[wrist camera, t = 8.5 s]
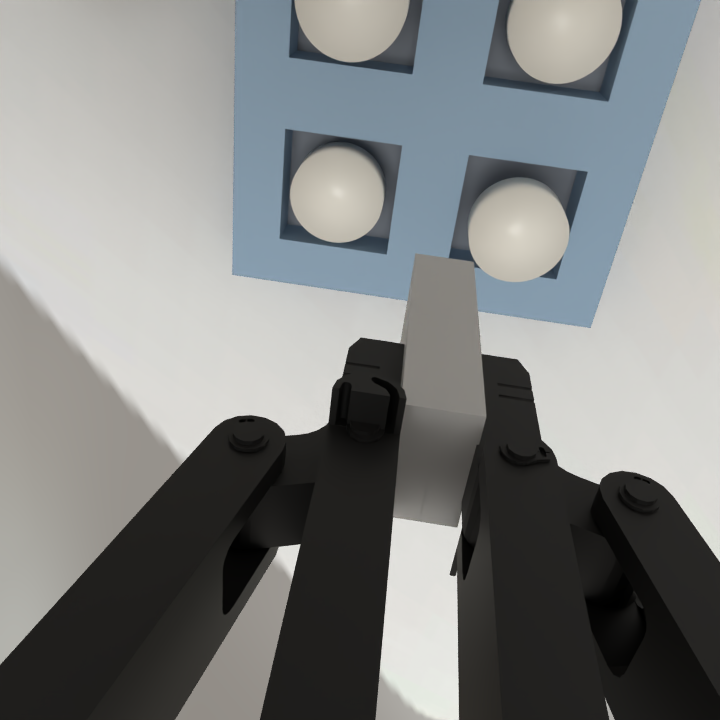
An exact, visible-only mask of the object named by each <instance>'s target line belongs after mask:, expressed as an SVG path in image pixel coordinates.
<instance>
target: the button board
mask: <svg viewBox="0 0 720 720" xmlns="http://www.w3.org/2000/svg"><path fill="white" fill-rule="evenodd" d="M700 1H701V0H621V5H622V24H621V29H620V33H619V36H618V39H617V42H616V44H615V46H614V48H613V49H612V51H611V53H610V54H609V56H608V57H607V58H606V59H605V61H604V62H603V63H602V64H601V65H600V66H599V67H598V68H597V69H595V70H594V71H593V72H592V73H590V74H588V75H587V76H585V77H583V78H581V79H579V80H576V81H573V82H569V83H563V84H552V83H546V82H542V81H540V80H537V79H535V78H533V77H531V76H530V75H529V74H527V73H526V72H525V71H524V70H523V69H522V68H521V67H520V65H519V64H518V63H517V61H516V59H515V57H514V56H513V54H512V52H511V50H510V47H509V45H508V41H507V37H506V16H507V11H508V7H509V4H510V2H511V0H410V5H409V10H408V14H407V17H406V20H405V22H404V25H403V27H402V29H401V31H400V33H399V35H398V36H397V38H396V39H395V41H394V42H393V43H392V44H391V45H390V46H389V47H388V48H387V49H386V50H385V51H384V52H382V53H381V54H379V55H377V56H376V57H374V58H371V59H369V60H366V61H361V62H343V61H339V60H336V59H333V58H331V57H329V56H327V55H325V54H323V53H322V52H321V51H319V50H318V49H317V48H316V47H315V46H314V45H313V44H312V43H311V42H310V41H309V40H308V38H307V37H306V35H305V34H304V32H303V30H302V28H301V26H300V23H299V21H298V18H297V14H296V9H295V0H236V9H235V96H234V182H233V269H232V275H237V276H244V277H251V278H258V279H264V280H271V281H278V282H285V283H291V284H298V285H305V286H311V287H318V288H325V289H332V290H338V291H345V292H352V293H359V294H365V295H372V296H379V297H386V298H392V299H399V300H406V301H408V295H409V289H410V283H411V277H412V271H413V265H414V259H415V253H417V254H424V255H430V256H437V257H444V258H451V259H458V260H464V261H471V262H474V270H475V282H476V294H477V306H478V311H480V312H487V313H493V314H500V315H507V316H514V317H520V318H527V319H534V320H540V321H547V322H554V323H561V324H567V325H574V326H581V327H588V328H591V325H592V322H593V319H594V316H595V313H596V310H597V307H598V304H599V301H600V298H601V295H602V292H603V289H604V286H605V283H606V280H607V277H608V274H609V271H610V268H611V265H612V262H613V259H614V256H615V253H616V250H617V248H618V245H619V242H620V239H621V236H622V233H623V230H624V227H625V224H626V221H627V218H628V215H629V212H630V209H631V206H632V203H633V200H634V197H635V194H636V191H637V188H638V185H639V182H640V179H641V176H642V173H643V170H644V167H645V165H646V162H647V159H648V156H649V153H650V150H651V147H652V144H653V141H654V138H655V135H656V132H657V129H658V126H659V123H660V120H661V117H662V114H663V111H664V108H665V105H666V102H667V99H668V96H669V93H670V90H671V87H672V84H673V81H674V79H675V76H676V73H677V70H678V67H679V64H680V61H681V58H682V55H683V52H684V49H685V46H686V43H687V40H688V37H689V34H690V31H691V28H692V25H693V22H694V19H695V16H696V13H697V10H698V7H699V4H700ZM331 142H347V143H351V144H354V145H357V146H359V147H361V148H363V149H364V150H366V151H367V152H369V153H370V154H371V155H372V156H373V157H374V158H375V160H376V161H377V162H378V164H379V165H380V167H381V169H382V171H383V174H384V178H385V185H386V191H385V198H384V202H383V207H382V211H381V214H380V217H379V219H378V221H377V222H376V224H375V225H374V227H373V228H372V229H371V230H370V231H369V232H368V233H366V234H365V235H364V236H362V237H360V238H358V239H356V240H353V241H350V242H344V243H335V242H329V241H325V240H322V239H319V238H317V237H315V236H314V235H312V234H311V233H309V232H308V231H307V230H306V229H305V228H304V227H303V226H302V225H301V224H300V223H299V221H298V220H297V218H296V216H295V214H294V212H293V209H292V206H291V200H290V189H291V184H292V180H293V178H294V176H295V174H296V172H297V170H298V169H299V167H300V165H301V164H302V162H303V161H304V159H305V158H306V157H307V155H308V154H309V153H311V152H312V151H313V150H314V149H316V148H317V147H319V146H321V145H324V144H327V143H331ZM514 177H524V178H530V179H534V180H537V181H540V182H542V183H543V184H545V185H547V186H548V187H549V188H550V189H551V190H552V191H553V192H554V193H555V194H556V195H557V197H558V198H559V200H560V202H561V205H562V207H563V209H564V212H565V214H566V217H567V220H568V224H569V241H568V245H567V248H566V250H565V252H564V254H563V256H562V258H561V259H560V260H559V262H558V263H557V264H556V265H555V266H554V267H553V268H552V269H551V270H549V271H548V272H547V273H545V274H543V275H541V276H540V277H537V278H535V279H532V280H528V281H523V282H507V281H502V280H499V279H496V278H494V277H492V276H490V275H488V274H487V273H485V272H484V271H483V270H482V269H481V268H480V267H479V266H478V265H477V263H476V262H475V260H474V259H473V256H472V254H471V251H470V247H469V238H468V218H469V214H470V211H471V208H472V206H473V204H474V202H475V201H476V199H477V198H478V197H479V195H480V194H481V193H482V192H483V191H484V190H486V189H487V188H488V187H490V186H491V185H493V184H495V183H497V182H499V181H501V180H505V179H508V178H514Z"/></svg>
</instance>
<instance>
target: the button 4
mask: <svg viewBox="0 0 720 720" xmlns="http://www.w3.org/2000/svg"><path fill="white" fill-rule="evenodd" d="M621 24H622V5H621V0H511V2H510V4H509V7H508V11H507V16H506V37H507V41H508V45H509V47H510V50H511V52H512V54H513V56H514V57H515V59H516V61H517V63H518V64H519V65H520V67H521V68H522V69H523V70H524V71H525V72H526V73H527V74H529V75H530V76H531V77H533V78H535V79H537V80H540V81H542V82H546V83H552V84H563V83H569V82H573V81H576V80H579V79H581V78H583V77H585V76H587V75H588V74H590V73H592V72H593V71H594V70H595V69H597V68H598V67H599V66H600V65H601V64H602V63H603V62H604V61H605V59H606V58H607V57H608V56H609V54H610V53H611V51H612V49H613V48H614V46H615V44H616V42H617V39H618V36H619V33H620V29H621Z"/></svg>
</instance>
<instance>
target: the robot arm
mask: <svg viewBox="0 0 720 720" xmlns="http://www.w3.org/2000/svg"><path fill="white" fill-rule="evenodd" d="M531 390H532V386H531V381H530V375H529V373H528V372H527V370H526V369H525V368H524V367H523V366H522V364H521V363H520V362H519V361H518V360H517V359H510V358H504V357H497V356H490V355H484V354H481V343H480V331H479V319H478V306H477V294H476V282H475V270H474V262H471V261H464V260H458V259H451V258H444V257H437V256H430V255H424V254H417V253H415V259H414V265H413V271H412V277H411V283H410V289H409V295H408V301H407V307H406V313H405V319H404V325H403V331H402V337H401V342H400V343H393V342H387V341H380V340H373V339H367V338H360V339H359V340H358V341H357V342H355V343H354V344H353V345H352V346H351V347H350V348H349V350H348V355H347V359H346V364H345V368H344V372H343V376H342V378H340V379H338V380H337V381H336V383H335V384H334V386H333V388H332V397H331V406H330V415H329V423H328V424H327V425H326V426H324V427H322V428H321V429H319V430H317V431H314V432H311V433H308V434H301V435H290V436H285V433H284V431H283V430H282V428H281V427H280V426H279V425H278V424H277V423H275V422H273V421H271V420H269V419H267V418H263V417H258V416H252V415H249V416H237V417H234V418H231V419H227V420H224V421H223V422H222V423H220V424H219V425H218V426H216V427H215V428H214V429H213V430H212V431H211V432H210V434H209V435H208V436H207V437H206V438H205V439H204V440H203V441H202V442H201V443H200V445H199V446H198V447H197V448H196V449H195V450H194V451H193V452H192V453H191V455H190V456H189V457H188V458H187V459H186V460H185V461H184V462H183V463H182V464H181V466H180V467H179V468H178V469H177V470H176V471H175V472H174V473H173V474H172V476H171V477H170V478H169V479H168V480H167V481H166V482H165V483H164V484H163V485H162V487H161V488H160V489H159V490H158V491H157V492H156V493H155V494H154V495H153V497H152V498H151V499H150V500H149V501H148V502H147V503H146V504H145V505H144V506H143V508H142V509H141V510H140V511H139V512H138V513H137V514H136V516H135V517H134V518H133V519H132V520H131V521H130V522H129V523H128V524H127V525H126V526H125V528H124V529H123V530H122V531H121V532H120V533H119V534H118V535H117V536H116V538H115V539H114V540H113V541H112V542H111V543H110V544H109V545H108V546H107V547H106V549H105V550H104V551H103V552H102V553H101V554H100V555H99V556H98V557H97V558H96V560H95V561H94V562H93V563H92V564H91V565H90V566H89V567H88V568H87V570H86V571H85V572H84V573H83V574H82V575H81V576H80V577H79V578H78V579H77V581H76V582H75V583H74V584H73V585H72V586H71V587H70V588H69V590H68V591H67V592H66V593H65V594H64V595H63V596H62V597H61V598H60V599H59V600H58V602H57V603H56V604H55V605H54V606H53V607H52V608H51V609H50V610H49V612H48V613H47V614H46V615H45V616H44V617H43V618H42V619H41V620H40V621H39V623H38V624H37V625H36V626H35V627H34V628H33V629H32V630H31V631H30V633H29V634H28V635H27V636H26V637H25V638H24V639H23V640H22V641H21V642H20V644H19V645H18V646H17V647H16V648H15V649H14V650H13V651H12V652H11V654H10V655H9V656H8V657H7V658H6V659H5V660H4V662H2V664H1V665H0V720H175V719H176V717H177V715H178V714H179V712H180V711H181V709H182V707H183V705H184V704H185V702H186V701H187V699H188V697H189V696H190V694H191V693H192V691H193V689H194V688H195V686H196V684H197V683H198V681H199V680H200V678H201V676H202V675H203V673H204V671H205V670H206V668H207V666H208V665H209V663H210V661H211V660H212V658H213V657H214V655H215V653H216V652H217V650H218V648H219V647H220V645H221V644H222V642H223V640H224V639H225V637H226V635H227V634H228V632H229V631H230V629H231V627H232V626H233V624H234V622H235V621H236V619H237V617H238V615H239V614H240V613H241V611H242V609H243V608H244V606H245V604H246V603H247V601H248V599H249V598H250V596H251V595H252V593H253V591H254V589H255V588H256V586H257V585H258V583H259V582H260V580H261V578H262V577H263V575H264V573H265V572H266V570H267V568H268V567H269V565H270V564H271V562H272V560H273V559H274V557H275V555H276V553H277V550H278V547H280V546H289V545H298V544H301V545H300V549H299V553H298V558H297V562H296V566H295V571H294V575H293V579H292V584H291V588H290V592H289V597H288V601H287V605H286V609H285V614H284V618H283V622H282V627H281V631H280V635H279V640H278V644H277V648H276V653H275V657H274V661H273V665H272V670H271V674H270V678H269V683H268V687H267V691H266V696H265V700H264V704H263V709H262V713H261V718H260V720H375V717H376V706H377V695H378V683H379V672H380V660H381V649H382V637H383V626H384V614H385V603H386V591H387V580H388V568H389V557H390V545H391V534H392V522H393V517H395V518H401V519H407V520H414V521H420V522H426V523H432V524H439V525H445V526H451V527H457V526H458V522H459V519H460V515H461V511H462V531H461V534H460V538H459V542H458V545H457V549H456V553H455V556H454V560H453V564H452V568H451V571H450V575H451V576H455V575H456V572H457V594H458V672H459V720H609V716H608V711H607V707H606V701H607V703H608V705H609V707H610V710H611V712H612V714H613V717H614V719H615V720H720V562H719V560H718V559H717V558H716V556H715V555H714V553H713V552H712V550H711V549H710V548H709V546H708V545H707V543H706V542H705V541H704V539H703V538H702V536H701V535H700V534H699V532H698V531H697V529H696V528H695V526H694V525H693V524H692V522H691V521H690V519H689V518H688V517H687V515H686V514H685V512H684V511H683V509H682V508H681V507H680V505H679V504H678V502H677V501H676V500H675V498H674V497H673V496H672V495H671V494H670V493H669V492H668V491H667V490H666V488H665V487H664V486H662V485H660V484H659V483H657V482H656V481H654V480H652V479H651V478H648V477H646V476H643V475H640V474H637V473H633V472H625V471H619V472H613V473H609V474H608V475H606V476H605V477H604V478H602V480H601V482H600V485H599V484H596V483H593V482H591V481H588V480H586V479H583V478H580V477H578V476H575V475H573V474H571V473H569V472H567V471H565V470H564V469H562V468H561V467H559V466H558V464H557V459H556V457H555V455H554V453H553V451H552V449H551V448H550V447H549V446H547V445H546V444H545V443H544V442H543V441H542V440H541V435H540V430H539V424H538V419H537V413H536V408H535V403H534V397H533V392H532V391H531ZM605 698H606V701H605Z"/></svg>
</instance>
